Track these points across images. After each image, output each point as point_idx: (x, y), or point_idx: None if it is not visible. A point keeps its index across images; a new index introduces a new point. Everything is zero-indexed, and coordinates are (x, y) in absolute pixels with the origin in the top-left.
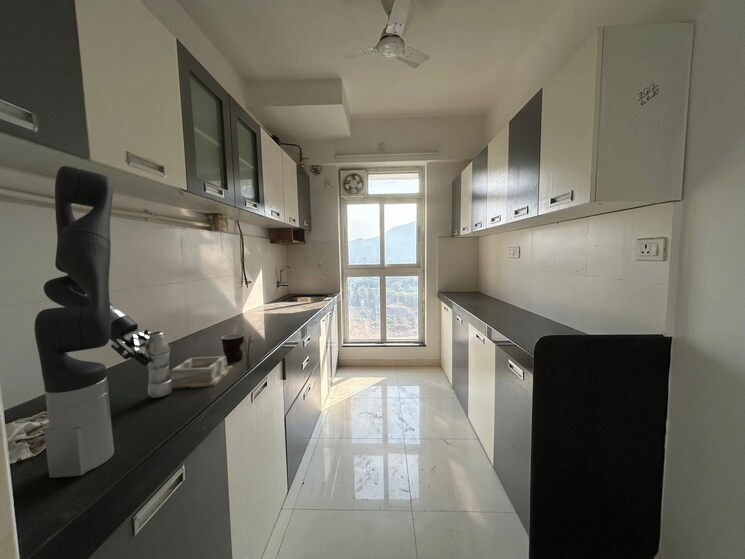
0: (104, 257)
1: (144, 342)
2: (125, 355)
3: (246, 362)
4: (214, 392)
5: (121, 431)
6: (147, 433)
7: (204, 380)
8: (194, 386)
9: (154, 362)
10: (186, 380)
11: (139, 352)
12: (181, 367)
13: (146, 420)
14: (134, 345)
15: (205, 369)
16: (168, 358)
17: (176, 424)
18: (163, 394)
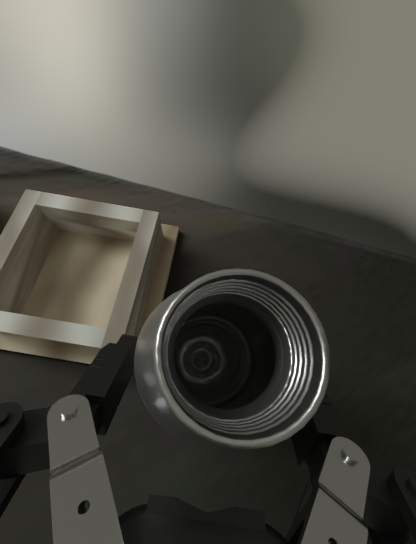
0: None
1: (185, 506)
2: (411, 535)
3: (10, 180)
4: (220, 224)
5: (389, 368)
6: (395, 304)
7: (158, 251)
8: (167, 279)
9: (261, 353)
10: (144, 301)
11: (340, 438)
12: (79, 324)
13: (343, 332)
14: (363, 537)
15: (154, 228)
16: (207, 306)
17: (363, 260)
18: (228, 340)
